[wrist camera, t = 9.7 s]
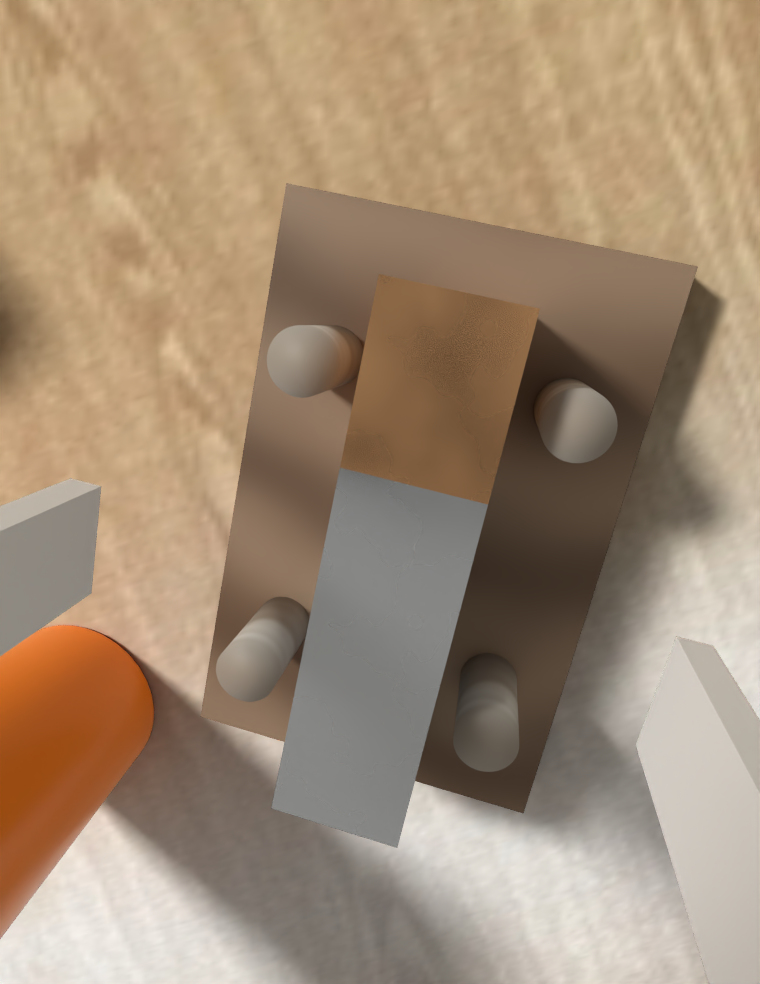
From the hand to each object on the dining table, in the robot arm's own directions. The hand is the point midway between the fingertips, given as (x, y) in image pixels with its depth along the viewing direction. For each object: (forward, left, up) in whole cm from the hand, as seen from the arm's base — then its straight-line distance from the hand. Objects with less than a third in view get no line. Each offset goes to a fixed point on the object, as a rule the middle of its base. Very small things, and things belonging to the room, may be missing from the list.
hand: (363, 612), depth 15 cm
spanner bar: (+1, 0, -9) cm, 9 cm away
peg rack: (0, 0, -10) cm, 10 cm away
